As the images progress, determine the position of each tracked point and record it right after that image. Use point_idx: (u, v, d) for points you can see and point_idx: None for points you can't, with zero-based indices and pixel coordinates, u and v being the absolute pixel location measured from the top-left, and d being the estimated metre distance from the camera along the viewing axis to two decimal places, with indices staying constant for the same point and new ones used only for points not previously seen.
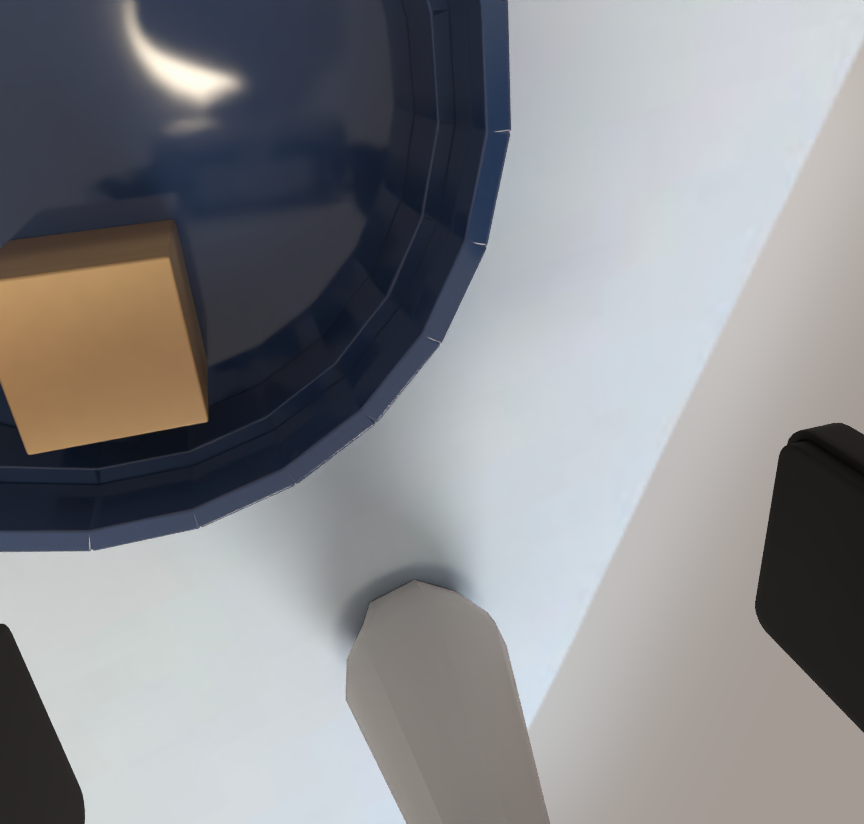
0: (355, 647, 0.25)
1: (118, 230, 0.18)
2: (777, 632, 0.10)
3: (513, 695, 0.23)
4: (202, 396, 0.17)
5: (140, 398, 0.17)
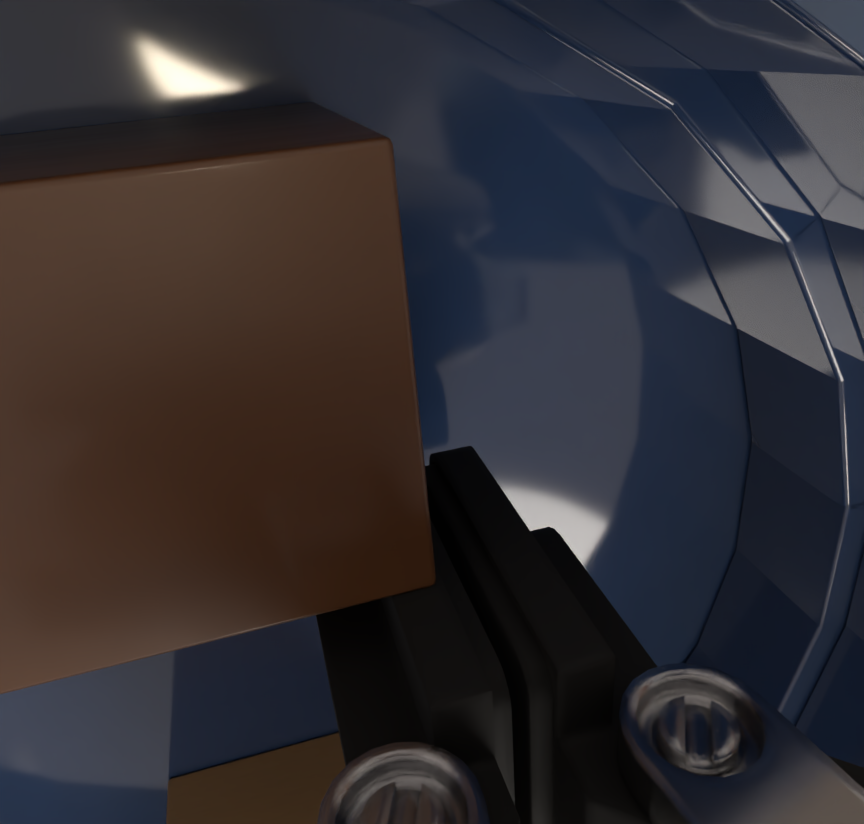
0: None
1: (331, 763, 0.12)
2: None
3: None
4: None
5: None
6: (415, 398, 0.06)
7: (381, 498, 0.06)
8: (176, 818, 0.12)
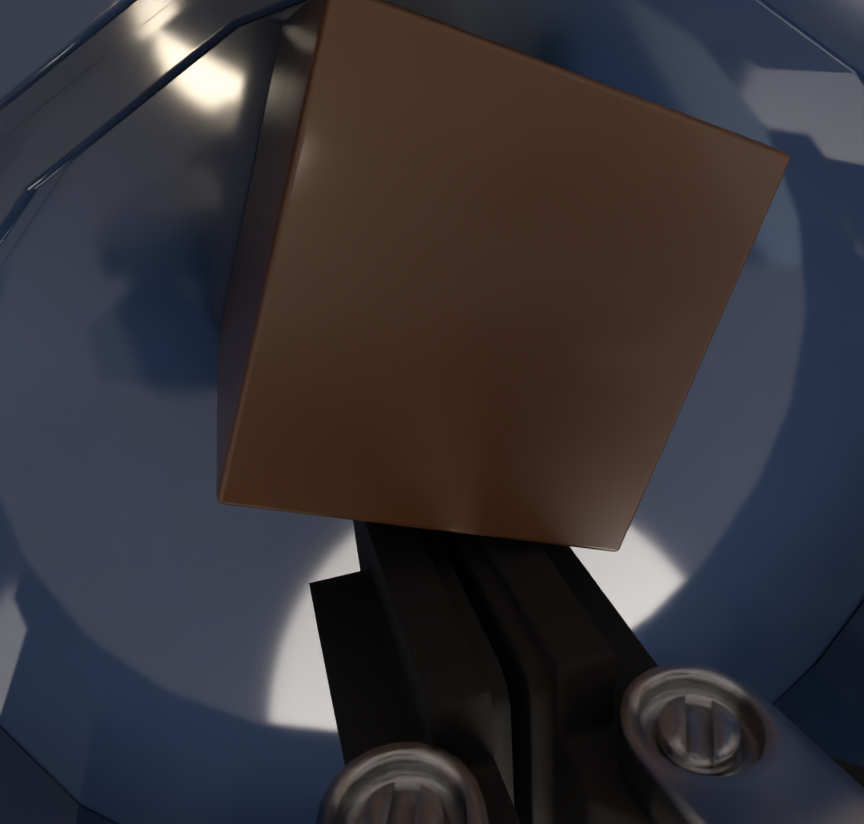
0: None
1: None
2: None
3: None
4: None
5: None
6: None
7: (625, 452, 0.07)
8: None
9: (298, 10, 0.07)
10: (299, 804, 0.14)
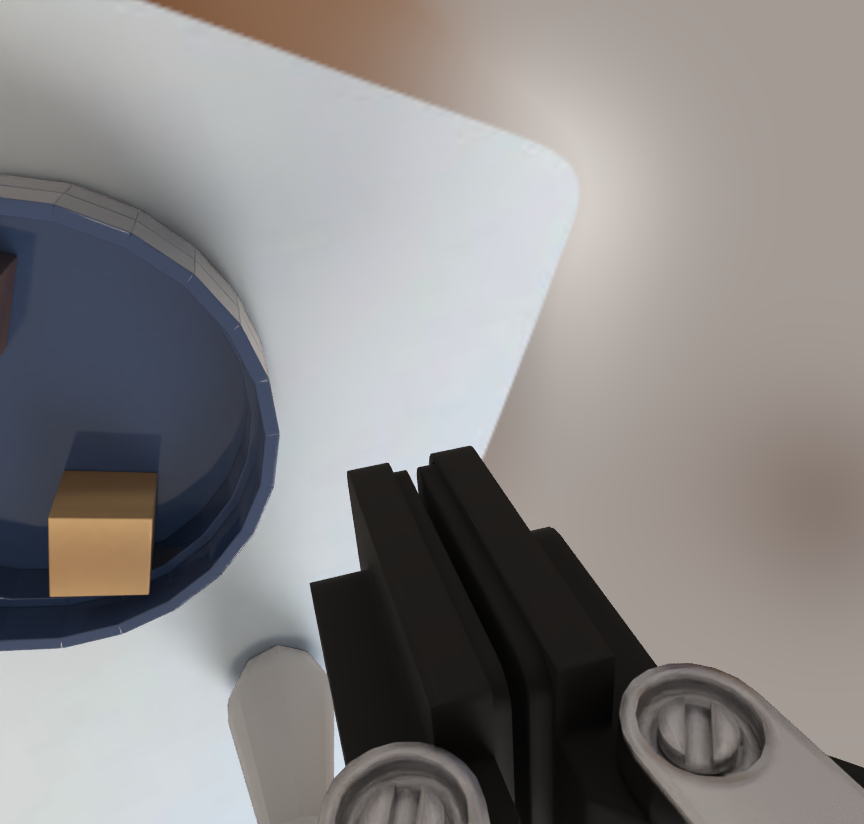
0: (233, 690, 0.40)
1: (125, 478, 0.34)
2: None
3: (323, 722, 0.38)
4: (149, 582, 0.33)
5: (117, 578, 0.32)
6: None
7: None
8: (64, 478, 0.33)
9: None
10: None
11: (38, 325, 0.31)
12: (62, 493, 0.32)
